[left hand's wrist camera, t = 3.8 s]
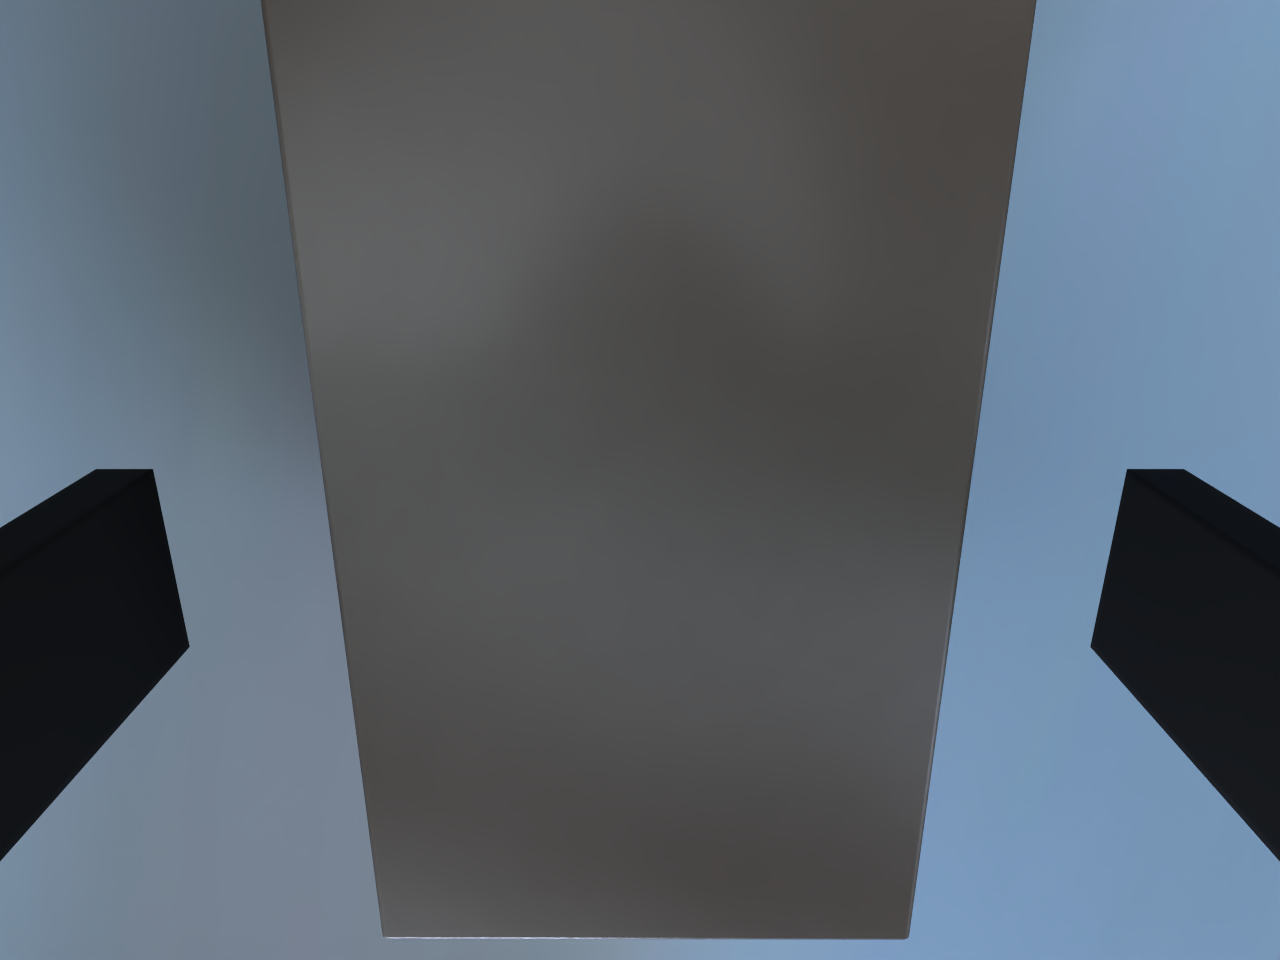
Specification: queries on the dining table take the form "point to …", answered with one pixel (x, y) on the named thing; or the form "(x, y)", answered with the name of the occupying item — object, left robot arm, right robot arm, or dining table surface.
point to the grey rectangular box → (647, 439)
